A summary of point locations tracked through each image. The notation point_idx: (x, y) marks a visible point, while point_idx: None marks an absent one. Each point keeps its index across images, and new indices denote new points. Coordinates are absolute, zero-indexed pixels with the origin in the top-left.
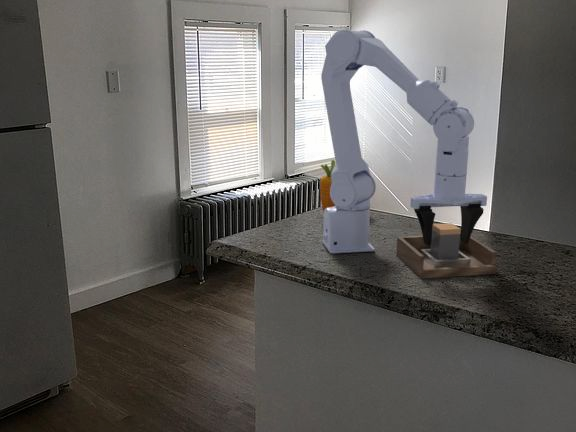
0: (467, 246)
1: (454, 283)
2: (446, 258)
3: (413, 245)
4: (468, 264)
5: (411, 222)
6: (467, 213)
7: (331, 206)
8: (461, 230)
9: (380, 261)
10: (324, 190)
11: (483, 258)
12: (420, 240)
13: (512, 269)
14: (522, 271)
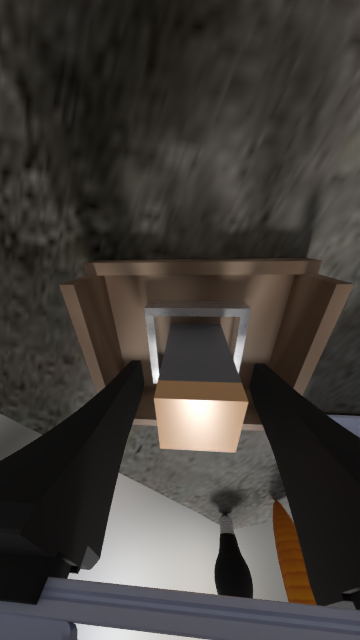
0: None
1: (236, 201)
2: (201, 331)
3: None
4: (152, 302)
5: (164, 483)
6: (87, 491)
7: (293, 537)
8: (135, 411)
9: (316, 372)
10: None
11: (105, 317)
12: None
13: (49, 283)
14: (26, 265)
